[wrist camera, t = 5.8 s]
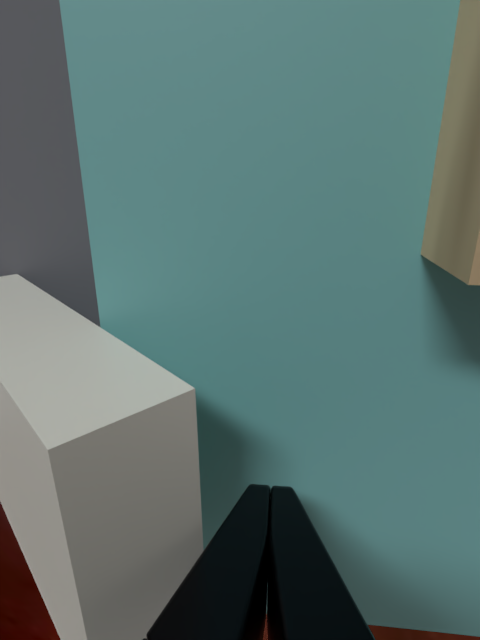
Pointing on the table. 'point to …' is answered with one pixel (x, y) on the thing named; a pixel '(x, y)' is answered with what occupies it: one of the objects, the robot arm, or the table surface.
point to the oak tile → (458, 160)
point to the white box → (94, 467)
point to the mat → (41, 160)
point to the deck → (294, 268)
